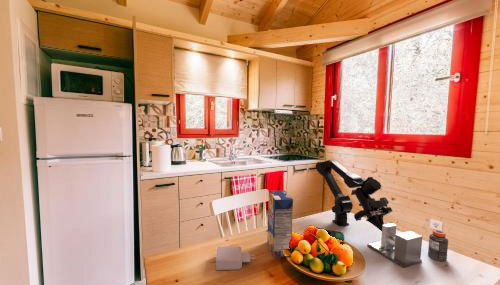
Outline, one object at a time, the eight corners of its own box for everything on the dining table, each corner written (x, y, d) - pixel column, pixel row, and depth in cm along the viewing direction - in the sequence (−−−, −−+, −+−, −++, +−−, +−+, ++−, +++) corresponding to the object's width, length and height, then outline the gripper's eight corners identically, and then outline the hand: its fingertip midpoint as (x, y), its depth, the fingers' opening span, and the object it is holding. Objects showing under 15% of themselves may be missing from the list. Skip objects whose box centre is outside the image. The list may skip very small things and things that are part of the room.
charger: (256, 270, 81) (215, 271, 79) (253, 255, 90) (217, 256, 89) (256, 258, 80) (215, 259, 79) (254, 244, 89) (217, 245, 88)
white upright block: (376, 248, 94) (378, 225, 93) (390, 244, 97) (392, 223, 96) (387, 254, 89) (389, 231, 88) (401, 250, 92) (403, 228, 91)
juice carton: (267, 241, 100) (268, 190, 98) (283, 240, 101) (284, 190, 99) (273, 257, 88) (275, 199, 86) (291, 256, 89) (293, 199, 87)
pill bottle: (443, 255, 92) (445, 229, 91) (449, 263, 87) (451, 236, 86) (425, 251, 94) (428, 226, 94) (430, 259, 89) (432, 232, 88)
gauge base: (367, 245, 98) (368, 222, 97) (384, 241, 102) (386, 219, 101) (403, 267, 83) (405, 240, 82) (421, 261, 87) (424, 235, 86)
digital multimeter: (312, 231, 112) (312, 226, 111) (343, 237, 107) (343, 231, 106) (311, 238, 105) (311, 232, 104) (344, 244, 100) (344, 238, 100)
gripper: (361, 193, 97) (382, 228, 87) (390, 189, 103) (412, 221, 94) (346, 204, 105) (364, 237, 95) (374, 200, 111) (393, 230, 102)
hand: (384, 231), depth 96 cm, fingers closed
